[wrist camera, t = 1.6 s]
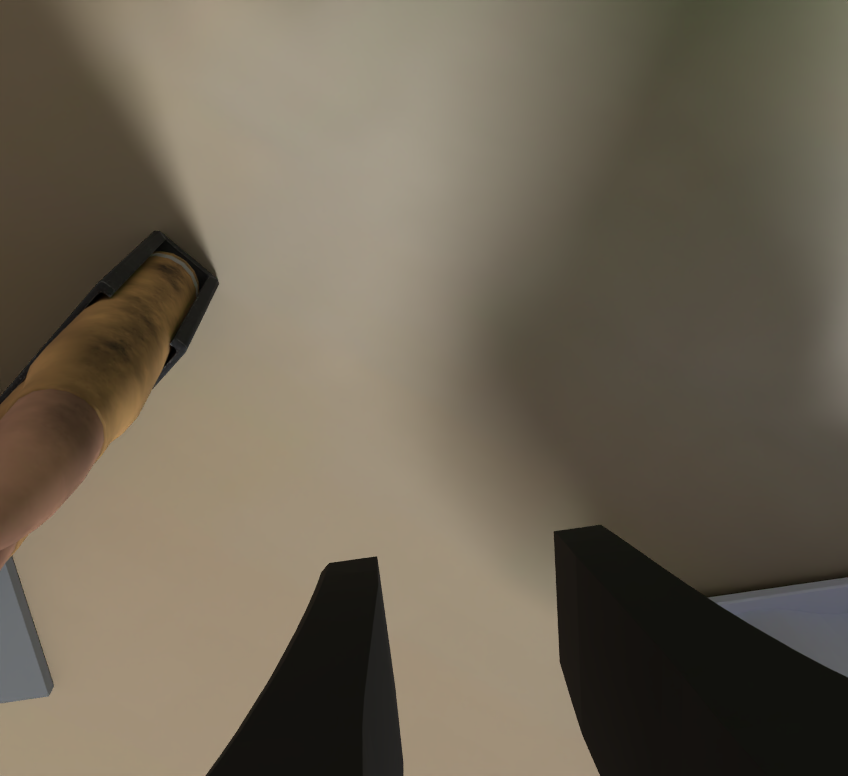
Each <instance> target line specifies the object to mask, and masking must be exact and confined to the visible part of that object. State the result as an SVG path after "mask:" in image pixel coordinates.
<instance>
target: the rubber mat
mask: <svg viewBox="0 0 848 776" xmlns="http://www.w3.org/2000/svg"><path fill="white" fill-rule="evenodd" d="M53 687H54V685H53V682H52V679H51V676H50V673H49V670H48V666H47V663H46V660H45V657H44V654H43V651H42V648H41V645H40V642H39V639H38V636H37V632H36V629H35V626H34V623H33V620H32V617H31V614H30V611H29V608H28V605H27V602H26V599H25V595H24V592H23V589H22V586H21V583H20V580H19V577H18V574H17V571H16V568H15V565H14V561H13V558H12V556H11V557H10V558H9V559H8V560H7V561H6V563H5V564H4V566H3V567H2V569H1V570H0V703H6V702H13V701H20V700H26V699H33V698H40V697H47V696H49V695H50V693H51V691H52V689H53Z"/></svg>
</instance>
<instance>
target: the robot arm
mask: <svg viewBox="0 0 848 776" xmlns="http://www.w3.org/2000/svg"><path fill="white" fill-rule="evenodd" d="M554 546H555V568H556V590H557V612H558V634H559V656H560V664H561V667H562V671H563V674H564V677H565V681H566V684H567V687H568V691H569V694H570V697H571V701H572V704H573V707H574V710H575V713H576V717H577V720H578V723H579V726H580V729H581V732H582V735H583V737H584V740H585V742H586V744H587V747H588V749H589V751H590V754H591V756H592V758H593V760H594V763H595V765H596V767H597V769H598V772H599V774H600V776H848V577H846V578H839V579H832V580H825V581H818V582H812V583H805V584H798V585H791V586H784V587H777V588H770V589H763V590H756V591H749V592H742V593H735V594H729V595H722V596H715V597H708V598H707V597H706V596H704V595H703V594H701V593H700V592H698V591H697V590H695V589H694V588H692V587H690V586H689V585H687V584H686V583H684V582H683V581H682V580H680V579H679V578H677V577H676V576H674V575H673V574H671V573H670V572H668V571H667V570H665V569H664V568H663V567H661V566H660V565H658V564H657V563H655V562H654V561H652V560H651V559H650V558H648V557H647V556H645V555H644V554H642V553H641V552H640V551H638V550H637V549H635V548H634V547H632V546H631V545H630V544H628V543H627V542H625V541H624V540H622V539H621V538H620V537H618V536H617V535H615V534H614V533H612V532H611V531H609V530H608V529H606V528H605V527H603V526H602V525H596V526H589V527H582V528H575V529H567V530H560V531H554ZM206 776H403V755H402V746H401V737H400V727H399V718H398V709H397V699H396V690H395V682H394V675H393V668H392V661H391V653H390V646H389V639H388V632H387V624H386V617H385V610H384V603H383V596H382V588H381V581H380V574H379V567H378V559H377V556H376V557H369V558H362V559H355V560H348V561H341V562H334V563H329V564H328V565H327V566H326V567H325V569H324V570H323V571H322V572H321V575H320V578H319V581H318V583H317V586H316V588H315V591H314V593H313V595H312V598H311V600H310V602H309V604H308V607H307V609H306V611H305V613H304V615H303V617H302V619H301V621H300V623H299V625H298V628H297V630H296V632H295V634H294V635H293V637H292V639H291V641H290V643H289V645H288V646H287V648H286V650H285V652H284V654H283V656H282V658H281V659H280V661H279V663H278V665H277V667H276V669H275V670H274V672H273V674H272V676H271V677H270V679H269V681H268V683H267V684H266V686H265V687H264V689H263V691H262V692H261V694H260V695H259V697H258V699H257V700H256V702H255V703H254V705H253V707H252V708H251V710H250V711H249V713H248V714H247V716H246V718H245V719H244V721H243V722H242V724H241V726H240V727H239V729H238V730H237V732H236V733H235V735H234V736H233V738H232V739H231V741H230V742H229V744H228V745H227V746H226V748H225V749H224V751H223V752H222V754H221V755H220V757H219V758H218V759H217V761H216V762H215V763H214V765H213V766H212V768H211V769H210V770H209V772H208V773H207V774H206Z"/></svg>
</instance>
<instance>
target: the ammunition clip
mask: <svg viewBox="0 0 848 776" xmlns="http://www.w3.org/2000/svg"><path fill="white" fill-rule="evenodd" d="M218 285H219V282H218V279H217V278H216V277H214V276H213V275H212V274H211V273H210V272H208V271H207V270H206V269H205V268H203V267H202V266H201V265H200V264H199V263H197V262H196V261H195V260H194V259H193V258H191V257H190V256H189V255H188V254H187V253H185V252H184V251H183V250H182V249H181V248H179V247H178V246H177V245H176V244H175V243H173V242H172V241H171V240H170V239H169V238H167V237H166V236H165V235H164V234H163V233H161V232H160V231H154V232H153V233H152V234H151V235H149V236H148V237H147V238H146V239H145V240H144V241H143V242H142V243H141V244H140V245H139V246H138V247H136V248H135V249H134V250H133V251H132V252H131V253H130V254H129V255H128V256H127V257H126V258H124V259H123V260H122V261H121V262H120V263H119V264H118V265H117V266H116V267H115V268H114V269H112V270H111V271H110V272H109V273H108V274H107V275H106V276H105V277H104V278H103V279H102V280H101V281H99V282H98V283H97V284H96V286H95V287H94V288H93V289H92V290H91V291H90V293H89V294H88V295H87V296H86V297H85V298H84V300H83V301H82V302H81V303H80V304H79V305H78V307H77V308H76V309H75V310H74V311H73V312H72V314H71V315H70V316H69V317H68V318H67V319H66V321H65V322H64V323H63V324H62V325H61V326H60V328H59V329H58V330H57V331H56V332H55V333H54V335H53V336H52V337H51V338H50V339H49V340H48V342H47V343H46V344H45V345H44V346H43V347H42V349H41V350H40V351H39V352H38V353H37V354H36V356H35V357H34V358H33V359H32V360H31V361H30V363H29V364H28V365H27V366H26V367H25V368H24V370H23V371H22V372H21V373H20V374H19V375H18V377H17V378H16V379H15V380H14V381H13V382H12V384H11V385H10V386H9V387H8V388H7V389H6V391H5V392H4V393H3V394H2V395H1V396H0V570H1V569H2V567H3V566H4V564H5V563H6V561H7V560H8V559H9V558H10V557H11V556H12V555H13V554H14V553H15V551H16V550H17V549H18V548H19V547H20V545H21V544H22V542H23V541H24V540H25V538H26V537H27V536H28V534H29V533H31V532H32V531H34V530H35V529H37V528H38V527H39V526H40V525H42V524H43V523H44V522H45V521H46V520H48V519H49V518H50V517H51V516H52V515H53V514H54V513H55V512H56V511H57V510H58V509H59V508H60V506H61V505H62V504H63V503H64V502H65V501H66V500H67V499H68V497H69V496H70V495H71V494H72V493H73V492H74V491H75V490H76V489H77V487H78V486H79V485H80V484H81V483H82V481H83V480H84V479H85V477H86V476H87V474H88V472H89V471H90V469H91V467H92V466H93V464H94V463H95V462H96V461H97V460H98V459H99V458H100V457H101V455H102V454H103V453H104V451H105V450H106V448H107V447H108V445H109V444H110V443H111V442H112V441H113V440H115V439H116V438H118V437H119V436H120V435H121V434H123V433H124V432H125V431H126V429H127V428H128V427H129V426H130V425H131V424H132V423H133V422H134V421H135V419H136V418H137V417H138V415H139V413H140V411H141V410H142V408H143V406H144V404H145V402H146V400H147V398H148V396H149V394H150V392H151V390H152V389H153V388H154V387H155V386H156V385H157V384H158V383H159V381H160V380H161V379H162V378H163V377H164V376H165V375H166V374H167V372H168V371H169V370H170V369H171V368H172V367H173V366H174V365H175V363H176V362H177V361H178V360H179V359H180V358H181V357H182V356H183V355H184V353H185V352H186V351H187V349H188V346H189V344H190V342H191V340H192V338H193V336H194V334H195V332H196V330H197V328H198V326H199V324H200V322H201V320H202V318H203V316H204V314H205V312H206V310H207V308H208V305H209V303H210V301H211V299H212V297H213V295H214V293H215V291H216V289H217V287H218Z"/></svg>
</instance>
